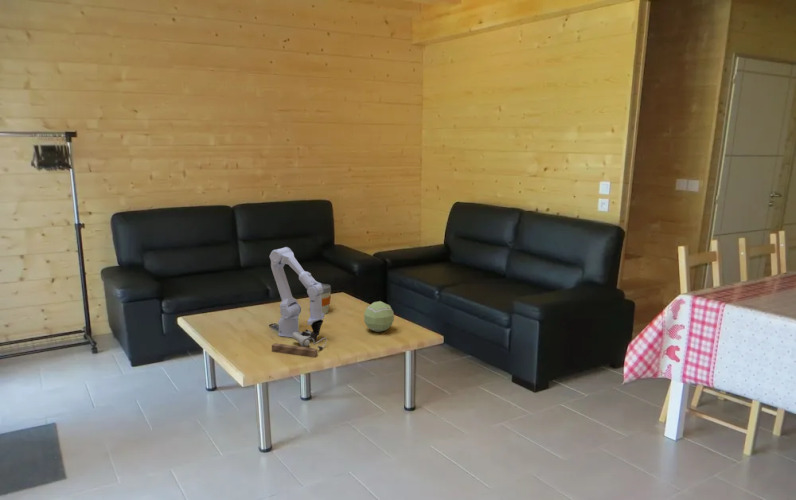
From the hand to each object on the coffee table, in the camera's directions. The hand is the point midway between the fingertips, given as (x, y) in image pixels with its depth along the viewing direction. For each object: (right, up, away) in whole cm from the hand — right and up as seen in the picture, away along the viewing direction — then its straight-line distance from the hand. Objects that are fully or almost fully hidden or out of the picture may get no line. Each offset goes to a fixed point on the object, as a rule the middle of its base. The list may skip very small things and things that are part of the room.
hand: (316, 334), depth 282 cm
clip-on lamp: (-2, -4, -7) cm, 8 cm away
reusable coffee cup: (-4, +6, +45) cm, 46 cm away
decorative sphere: (+30, 0, +14) cm, 33 cm away
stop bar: (-8, -6, -18) cm, 20 cm away
